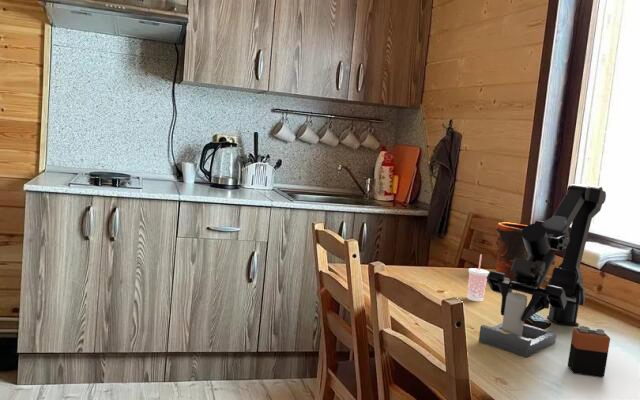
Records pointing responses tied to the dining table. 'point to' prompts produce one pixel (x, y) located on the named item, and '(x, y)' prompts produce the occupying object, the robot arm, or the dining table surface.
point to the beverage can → (514, 313)
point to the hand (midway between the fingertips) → (511, 317)
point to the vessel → (510, 247)
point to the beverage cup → (477, 283)
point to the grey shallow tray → (517, 339)
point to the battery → (588, 351)
